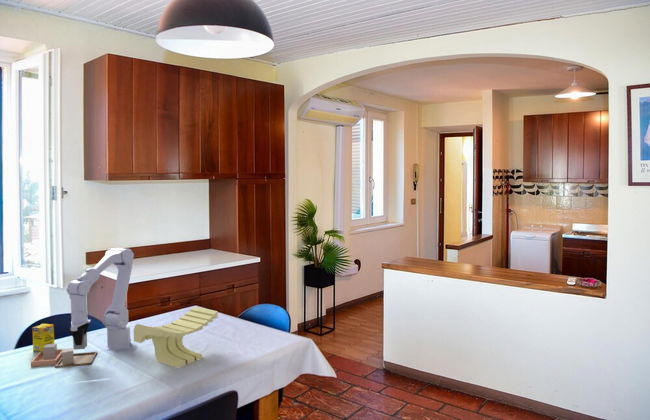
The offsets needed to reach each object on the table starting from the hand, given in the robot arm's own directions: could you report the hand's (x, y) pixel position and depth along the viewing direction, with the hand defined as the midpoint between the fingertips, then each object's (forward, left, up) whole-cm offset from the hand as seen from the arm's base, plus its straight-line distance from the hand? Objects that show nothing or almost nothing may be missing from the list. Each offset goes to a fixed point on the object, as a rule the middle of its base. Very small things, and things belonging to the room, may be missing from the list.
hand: (80, 343), depth 199 cm
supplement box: (+19, -20, -8) cm, 29 cm away
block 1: (+14, -8, -8) cm, 18 cm away
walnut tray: (+2, -2, -8) cm, 9 cm away
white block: (+5, -1, -8) cm, 9 cm away
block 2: (0, 0, -2) cm, 2 cm away
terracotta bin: (+14, -6, -8) cm, 17 cm away
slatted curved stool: (-38, +5, -8) cm, 39 cm away
